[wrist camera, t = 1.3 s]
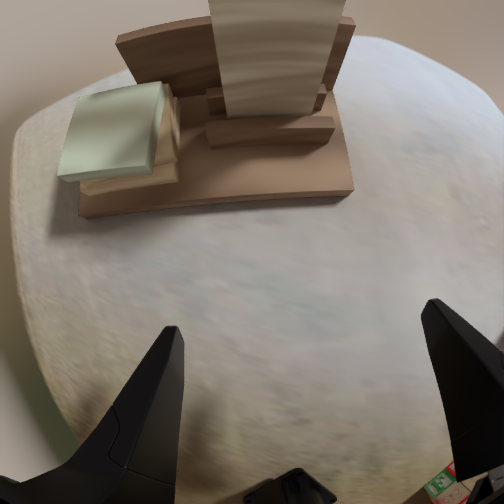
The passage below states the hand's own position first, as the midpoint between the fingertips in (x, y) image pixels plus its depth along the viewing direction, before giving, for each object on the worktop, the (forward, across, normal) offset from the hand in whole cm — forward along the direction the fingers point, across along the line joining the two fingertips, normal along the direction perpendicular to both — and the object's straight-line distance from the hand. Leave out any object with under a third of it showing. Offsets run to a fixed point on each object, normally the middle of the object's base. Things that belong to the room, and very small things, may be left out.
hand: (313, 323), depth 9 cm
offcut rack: (+18, +5, -1) cm, 18 cm away
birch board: (+17, 0, -2) cm, 17 cm away
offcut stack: (+16, +11, -2) cm, 20 cm away
